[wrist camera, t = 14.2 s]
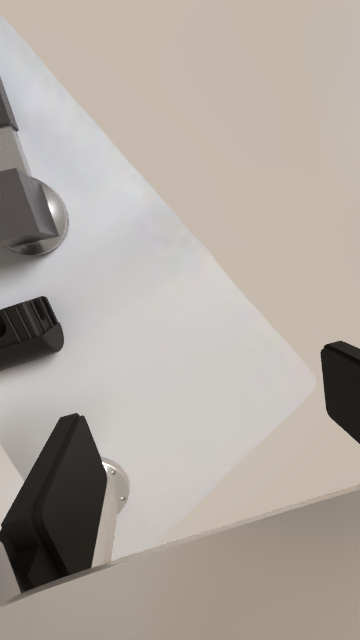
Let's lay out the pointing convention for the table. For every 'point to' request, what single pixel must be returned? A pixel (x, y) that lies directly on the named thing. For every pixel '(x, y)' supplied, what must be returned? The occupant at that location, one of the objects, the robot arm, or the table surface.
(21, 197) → the matte grey cube
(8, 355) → the end cap
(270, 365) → the table surface
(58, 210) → the ratchet
